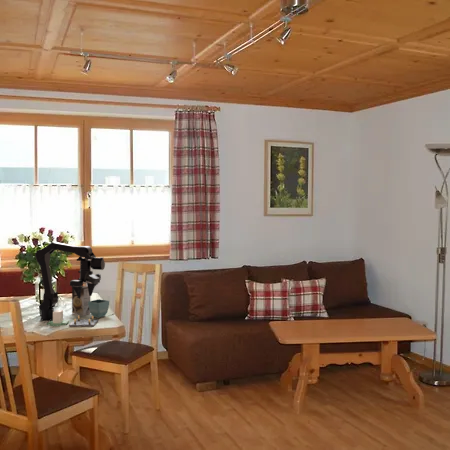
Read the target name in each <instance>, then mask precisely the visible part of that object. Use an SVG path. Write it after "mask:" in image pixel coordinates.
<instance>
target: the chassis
mask: <svg viewBox="0 0 450 450" xmlns="http://www.w3.org/2000/svg"><path fill="white" fill-rule="evenodd" d="M80 316H81V315H77V318H73V321H71V322H70V323H68V327H69V326H70V327H71V328H73V327H74V328H75V327H76V328H77V327H78V328H79V327H81V328H82V327H83V328H85V327H88V328H89V327H91V328H92V327H95V326H96V325H97V324H98V323H99V319H95V317H94V316H92V315H91V318H88V319H85V318H84V319H81V317H80ZM70 327H69V328H70Z"/></svg>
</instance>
